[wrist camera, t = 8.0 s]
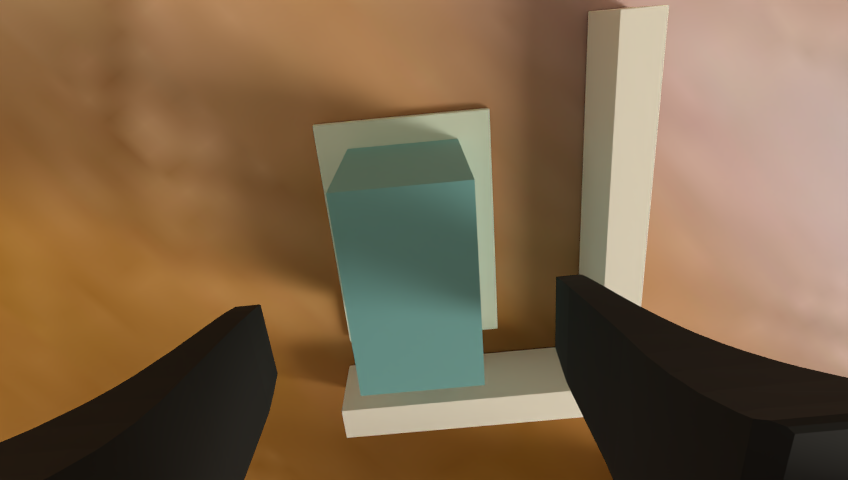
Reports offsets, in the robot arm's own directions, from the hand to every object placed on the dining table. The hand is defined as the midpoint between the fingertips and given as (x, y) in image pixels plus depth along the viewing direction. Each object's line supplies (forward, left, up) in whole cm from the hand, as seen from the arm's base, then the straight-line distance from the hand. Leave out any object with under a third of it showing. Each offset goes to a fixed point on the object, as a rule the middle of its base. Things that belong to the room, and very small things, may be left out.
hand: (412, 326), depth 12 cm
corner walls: (0, -2, -6) cm, 6 cm away
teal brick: (0, 0, -5) cm, 5 cm away
